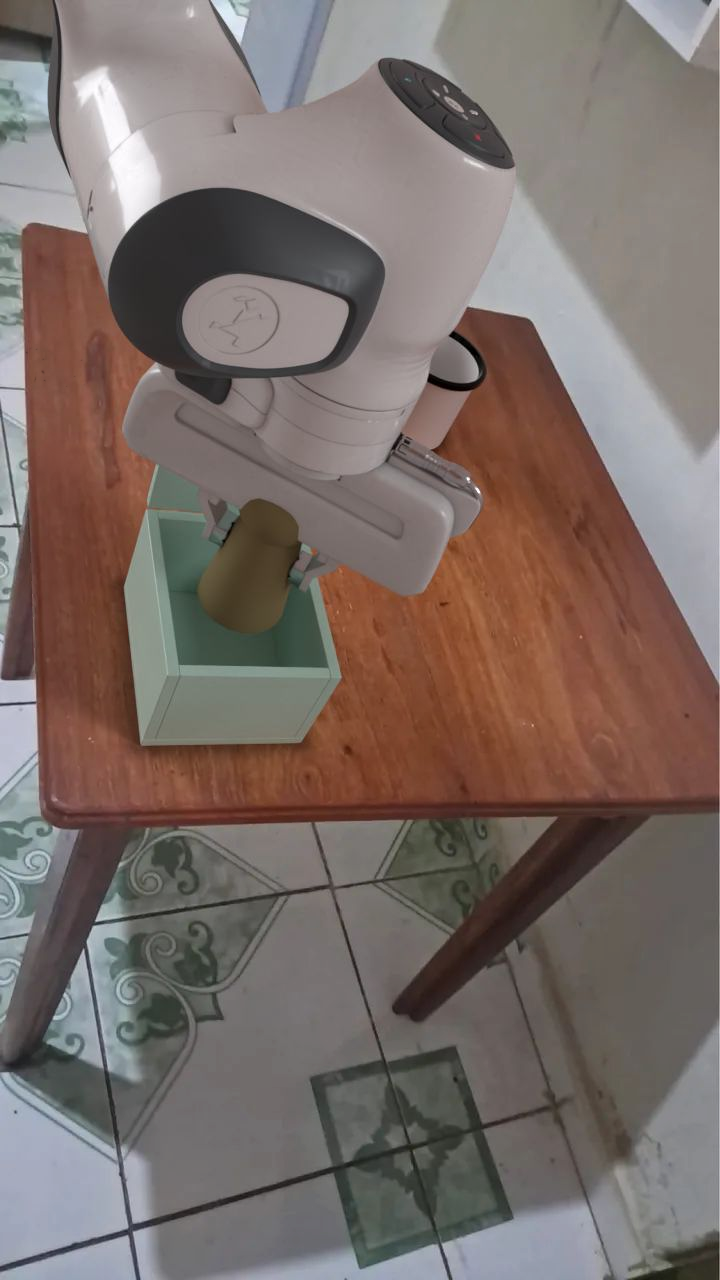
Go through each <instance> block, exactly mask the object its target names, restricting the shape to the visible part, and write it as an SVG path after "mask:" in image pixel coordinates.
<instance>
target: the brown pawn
mask: <svg viewBox="0 0 720 1280" xmlns="http://www.w3.org/2000/svg"><path fill="white" fill-rule="evenodd" d="M239 512H240V515H239V517H238V518H237V520H236V522H235V523H234V525H233V526H232V528H231V530H230V532H229V534H228V536H227V537H226V540H225V542H224V544H223V546H222V547H219V549H218V551H217V552H216V554H215V555H214V557H213V559H212V560H211V562H210V564H209V565H208V567H207V568H206V570H205V572H204V573H203V575H202V576H201V578H200V581H199V584H198V588H197V591H198V598H199V602H200V604H201V605H202V607H203V609H204V611H205V612H206V613H207V614H208V615H209V616H210V617H211V618H212V619H213V620H214V621H215V622H216V623H218V624H220V625H221V626H223V627H225V628H226V629H229V630H232V631H236V632H239V633H252V634H255V633H259V632H263V631H267V630H269V629H270V628H272V627H273V626H275V625H276V624H277V623H278V621H279V620H280V618H281V617H282V615H283V611H284V608H285V604H286V600H287V597H288V593H289V590H290V586H291V584H289V583H287V582H286V579H287V577H288V576H289V573H290V571H291V569H292V567H293V565H294V563H295V561H296V560H297V559H298V556H299V553H300V550H301V546H302V542H300V541H298V533H299V526H298V524H297V522H296V520H295V519H294V517H293V516H292V515H291V514H290V513H289V512H287V511H286V510H284V509H283V508H281V507H280V506H278V505H276V504H274V503H272V502H269V501H266V500H263V499H260V498H258V499H254V500H250V501H249V502H248V503H246V504H245V505H244V506H243V508H242V509H239Z"/></svg>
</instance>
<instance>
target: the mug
mask: <svg viewBox="0 0 720 1280" xmlns="http://www.w3.org/2000/svg"><path fill="white" fill-rule="evenodd" d="M487 374H488V367H487V363H486V360H485V358H484V357H483V354H482V353H481V351H480V350H479V349H478V347H476V345H475V344H474V343H473V342H472V341H471V340H470V339H468V338H467V337H466V336H464V334H462V333H460V332H459V331H457V330H455V329H454V330H453V331H452V332H451V334H450V335H449V336H448V337H447V338H446V339H444V340H443V341H442V342H441V343H440V345H439V346H438V347H437V349H436V350H435V352H434V354H433V356H432V359H431V363H430V370H429V375H428V379H427V382H426V385H425V388H424V390H423V392H422V394H421V396H420V397H419V399H418V401H417V403H416V405H415V407H414V409H413V411H412V413H411V414H410V416H409V418H408V420H407V422H406V424H405V426H404V427H403V429H402V431H401V432H402V434H404V435H405V436H407V437H409V438H411V439H413V440H414V441H416V442H418V443H420V444H422V445H424V446H425V447H427V448H428V449H430V451H432V450H434V449H436V448H438V447H439V446H440V445H441V444H442V442H443V441H444V439H445V438H446V436H447V434H448V432H449V431H450V429H451V427H452V425H453V424H454V422H455V420H456V419H457V417H458V415H459V413H460V411H461V410H462V409H463V406H464V405H465V403H466V401H467V399H468V398H469V396H470V394H471V392H472V391H473V390H476V389H478V388H480V387H481V386H482V384H484V382H485V379H486V377H487Z"/></svg>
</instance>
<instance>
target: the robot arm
mask: <svg viewBox="0 0 720 1280" xmlns="http://www.w3.org/2000/svg"><path fill="white" fill-rule="evenodd" d="M52 5H53V6H52V7H53V24H52V25H53V28H52V39H51V49H50V60H49V66H48V75H47V76H48V77H47V112H48V113H47V114H48V120H49V126H50V130H51V134H52V137H53V140H54V142H55V145H56V148H57V151H58V152H59V154H60V157H61V159H62V161H63V164H64V166H65V169H66V171H67V174H68V176H69V178H70V180H71V182H72V186H73V189H74V192H75V196H76V200H77V203H78V207H79V209H80V213H81V216H82V219H83V223H84V227H85V229H86V233H87V236H88V239H89V243H90V246H91V249H92V253H93V256H94V259H95V263H96V266H97V269H98V272H99V275H100V278H101V283H102V285H103V287H104V290H105V293H106V296H107V299H108V302H109V305H110V306H109V307H110V309H111V312H112V315H113V317H114V320H115V323H116V324H117V325H118V327H119V329H120V331H121V332H122V334H123V335H124V336H125V337H126V339H127V340H128V341H129V343H131V345H133V347H135V349H137V351H139V352H140V353H141V354H143V355H144V356H145V357H147V358H148V359H150V360H151V361H153V362H154V363H153V364H151V366H150V367H149V368H148V370H146V371H145V373H144V374H143V375H142V376H141V377H140V379H139V380H138V382H137V384H136V386H135V388H134V390H133V392H132V395H131V397H130V400H129V403H128V406H127V407H126V410H125V414H124V418H123V421H122V426H121V433H122V435H123V438H124V440H125V442H126V444H127V446H128V447H129V449H130V450H131V451H132V452H133V453H135V454H137V455H138V456H140V457H142V458H143V459H146V460H147V461H149V462H152V463H153V464H155V465H156V464H157V465H159V466H161V467H163V468H164V469H166V470H168V471H170V472H172V473H174V474H176V475H177V476H179V477H181V478H183V479H185V480H187V481H189V482H190V483H192V484H194V485H196V486H198V487H199V490H198V493H197V497H198V500H199V503H200V506H201V509H202V512H201V513H202V514H203V515H204V517H205V520H206V521H207V523H206V526H205V529H204V532H203V534H202V537H203V538H205V539H206V540H208V541H210V542H212V543H214V544H216V545H218V546H220V547H222V546H223V544H224V542H225V540H226V537H227V536H228V534H229V532H230V530H231V528H232V526H233V525H234V523H235V522H236V520H237V518H238V517H239V516H238V515H237V514H235V513H233V512H231V511H230V510H228V507H227V502H228V503H229V504H231V505H233V506H235V507H237V508H239V509H242V508H243V506H244V505H245V504H246V503H248V502H249V501H250V500H254V499H258V498H260V499H263V500H266V501H269V502H272V503H274V504H276V505H278V506H280V507H281V508H283V509H284V510H286V511H287V512H289V513H290V514H291V515H292V516H293V517H294V519H295V520H296V522H297V524H298V526H299V533H298V541H300V542H302V543H304V544H305V545H307V546H309V547H310V549H313V550H315V551H317V553H315V554H312V553H311V554H312V555H311V554H309V553H307V552H305V551H303V550H302V551H301V553H300V555H299V556H298V559H297V560H296V561H295V563H294V565H293V567H292V569H291V571H290V573H289V576H288V577H287V579H286V582H287V583H289V584H291V585H292V586H294V587H296V588H299V589H300V590H302V591H303V592H306V590H307V588H308V586H309V585H310V583H311V581H312V579H313V578H314V579H315V578H320V577H322V576H326V575H328V574H331V573H334V572H336V571H337V570H338V568H339V567H340V565H343V566H345V567H346V568H348V569H350V570H352V571H354V572H356V573H357V574H359V575H360V576H363V577H365V578H366V579H368V580H370V581H372V582H375V583H376V584H378V585H379V586H381V587H383V588H385V589H387V590H388V591H391V592H393V593H395V594H396V595H398V596H400V597H403V598H408V597H413V596H417V595H421V594H423V593H424V592H425V591H426V589H427V588H428V586H429V584H430V582H431V580H432V579H433V577H434V575H435V573H436V570H437V568H438V567H439V564H440V562H441V560H442V558H443V555H444V553H445V551H446V548H447V546H448V544H449V541H450V540H451V539H450V538H454V537H458V536H461V535H463V534H465V533H466V532H468V531H469V530H470V529H471V527H472V526H473V524H474V523H475V521H476V520H477V519H478V517H479V515H480V514H481V512H482V510H483V506H484V498H483V493H482V491H481V490H480V488H479V486H478V485H477V484H476V483H475V482H474V481H473V480H472V479H471V477H472V474H471V472H470V471H468V470H467V469H466V468H465V467H463V465H460V464H458V463H456V462H454V461H449V460H447V459H445V458H443V457H442V456H440V455H439V454H437V453H435V452H434V451H433V450H430V449H428V448H427V447H425V446H424V445H422V444H420V443H418V442H416V441H414V440H413V439H411V438H409V437H407V436H405V435H404V434H402V432H401V431H402V429H403V427H404V426H405V424H406V422H407V420H408V418H409V416H410V414H411V413H412V411H413V409H414V407H415V405H416V403H417V401H418V399H419V397H420V396H421V394H422V392H423V390H424V388H425V385H426V382H427V379H428V375H429V370H430V363H431V359H432V356H433V354H434V352H435V350H436V349H437V347H438V346H439V345H440V343H441V342H442V341H443V340H444V339H446V338H447V337H448V336H449V335H450V334H451V332H452V331H453V330H455V329H456V328H457V327H458V325H459V323H460V321H461V320H462V319H463V316H464V314H465V312H466V310H467V308H468V306H469V304H470V303H471V301H472V299H473V296H474V295H475V293H476V291H477V289H478V287H479V285H480V283H481V281H482V279H483V276H484V275H485V272H486V271H487V267H488V266H489V264H490V261H491V259H492V257H493V254H494V253H495V251H496V248H497V245H498V244H499V243H498V242H499V240H500V237H501V235H502V232H503V230H504V228H505V225H506V222H507V218H508V215H509V212H510V208H511V205H512V201H513V197H514V192H515V187H516V180H517V179H516V178H517V166H516V164H515V163H516V162H515V160H514V158H513V157H514V156H513V155H514V154H513V153H512V151H511V148H510V146H509V145H508V143H507V142H506V140H505V138H504V137H503V135H502V133H501V132H500V130H499V128H498V127H497V126H496V125H495V123H494V122H493V120H492V118H490V116H489V115H488V114H487V113H486V111H485V110H484V109H483V108H482V107H481V106H480V104H479V103H477V102H475V101H474V100H473V99H472V98H470V96H468V95H467V94H466V93H465V92H463V90H462V89H461V88H460V86H458V85H456V84H455V83H453V82H452V81H451V80H449V79H447V78H446V77H445V76H443V75H441V74H440V73H438V72H436V71H435V70H433V69H431V68H428V67H427V66H424V65H422V64H420V63H417V62H415V61H412V60H409V59H405V58H401V59H400V58H396V57H382V58H380V59H377V60H376V61H375V62H374V63H373V64H371V65H370V66H369V67H368V68H367V69H366V70H365V71H364V72H363V73H362V75H360V76H359V77H358V78H356V79H355V80H354V81H353V82H351V83H349V84H348V85H346V86H344V87H342V88H340V89H337V90H336V91H334V92H332V93H329V94H327V95H324V96H322V97H321V98H318V99H315V100H313V101H310V102H307V103H304V104H302V105H297V106H294V107H290V108H287V109H283V110H279V111H274V112H269V110H268V108H267V106H266V104H265V102H264V100H263V98H262V95H261V91H260V89H259V87H258V84H257V81H256V79H255V76H254V73H253V71H252V69H251V67H250V64H249V62H248V59H247V57H246V55H245V53H244V51H243V49H242V47H241V45H240V44H239V41H238V40H237V38H236V37H235V35H234V33H233V32H232V30H231V28H230V27H229V25H228V24H227V23H226V22H225V20H224V18H223V17H222V15H221V14H220V12H219V11H218V9H217V8H216V6H215V5H214V3H213V2H212V0H52Z"/></svg>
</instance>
